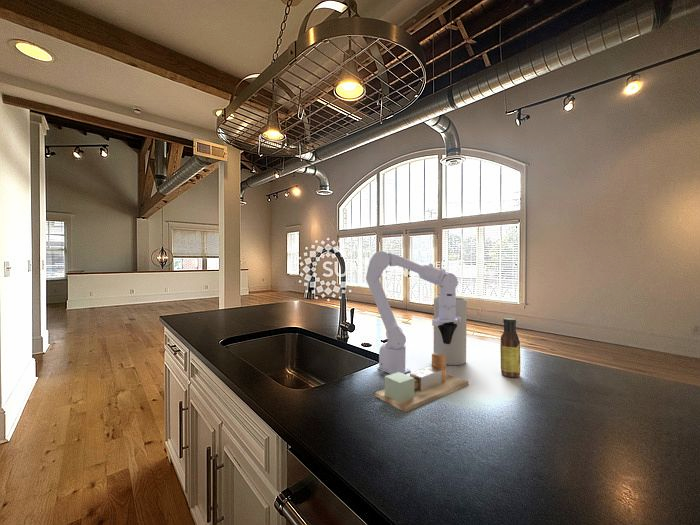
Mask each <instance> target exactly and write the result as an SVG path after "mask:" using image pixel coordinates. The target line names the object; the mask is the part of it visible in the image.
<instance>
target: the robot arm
mask: <svg viewBox="0 0 700 525" xmlns="http://www.w3.org/2000/svg"><path fill="white" fill-rule="evenodd" d="M368 262H369V263H368V267H367V271H366V276H365V280H366V283H367V285H368V287H369V290H370V293H371V294H372V295H371V296H372V298H373V300H374V302H375V305H376V307H377V310H378V312H379V315H380V318H381V320H382V322H383V325H384V328H385V331H386V333H385V336H386V339H387V342H386V343H383V344H382V345H381V346H380V348H379V352H378V355H379V357H378V361H379V362H378V366H377V370H380V371H382V372H385V373H387V374H388V375H391V374H394V373H397V372H401V373H403V374H407V373H411V372H412V371H411V369H409V368H406V353H407V352H406V350H407V349H406V341H407V338H406V336H405V334H404V332H403V330H402V328H401V327H400V326H399V325H398V324H397V323H398V322H397V320H396V318H395V315H394V313H393V310H392V308H391V305H390V304H389V301H388V299H387V295H386V293H385V290H384V288H383V285H382V283H381V280H380V278H381V276H382V274H383V272H384V271H385V270H386V269H387V268H388V267H396V266H397V267H400V268H403V269H406V270H408V271H411V272H414V273H417V274H418V276H419V278H420V279H422V280H423V281H427V282H429V283H431V284H434V285H438V287H439V290H438V291H439V293H438V297H439V317H438V318H436V319H434V318H433V319H432V322H431V323H432V324H431V325H432V326H433V327H434V326H438V328H439V330H440V332H441V335H442V339H443V343H444V344H450V343H451V340H452V336H453V333H454V331H455V329H456V327H457V324H454V323H453V322H461V316H455V314H456V298H457V294H456V288H457V287H458V286H459V280H458V278H457V276H456V275H455V274H454V273H451V272H447V270H446V269H444V268H442V269H441V268H439V267H435V266H434V264H433V263H424V264H422V265H421V264H419V263H417V262H415V261H412V260H410V259H408V258H405V257H403V256H401V255H399V254H395V253H392V252H386V251H383V250H378V251H376V252H375V253H374V254H373V255H372V257H371V258H370V260H369V261H368Z"/></svg>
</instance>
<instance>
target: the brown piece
mask: <svg viewBox="0 0 700 525" xmlns="http://www.w3.org/2000/svg"><path fill="white" fill-rule="evenodd" d="M431 367H434V368H437V369H440V370H442V382H444V381H446V374H447V365H446V356H444V355H441V354H437V353H434V352H433V353H431ZM413 378H414V389H416V388H419V379H418V378H415V377H413Z"/></svg>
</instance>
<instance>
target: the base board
mask: <svg viewBox="0 0 700 525" xmlns="http://www.w3.org/2000/svg"><path fill="white" fill-rule="evenodd" d="M467 386H469V381H468V380H466V379H463V378H461V377H457V376H454V375H451V374H449V373H446V381H444V382H442V384H441V385H438V386H436V387H433V388H430V389H428V390H425V391H423V392H420V391H417V390H415V389H414V397H412V398H410V399H407V400H405V401H402V402H398V401H396V400H394V399H392V398H390V397H388V396H386V395H385V388H383V389H381V390H377V391H375V392H374V397H375V396H376V397H375V398H377V397H378V398H377V399H379V398H380V399H379V400H381V401H383V402H385V403H387V404H389V405H390V406H393V407H395V408H396V409H399V410H400V411H402V412H404V413H407V412H409V411H412V410H414V409H417V408H418V407H421V406H423V405H426V404H428V403H431V402H433V401H435V400H438V399H439V398H441V397H443V396H446V395H449V394H450V393H454V392H455V391H457V390H460V389H462V388H465V387H467Z"/></svg>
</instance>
